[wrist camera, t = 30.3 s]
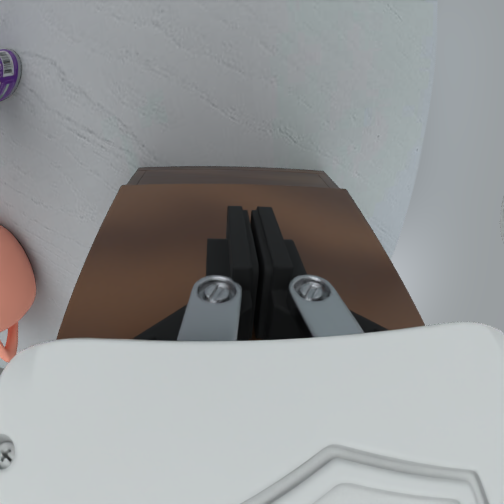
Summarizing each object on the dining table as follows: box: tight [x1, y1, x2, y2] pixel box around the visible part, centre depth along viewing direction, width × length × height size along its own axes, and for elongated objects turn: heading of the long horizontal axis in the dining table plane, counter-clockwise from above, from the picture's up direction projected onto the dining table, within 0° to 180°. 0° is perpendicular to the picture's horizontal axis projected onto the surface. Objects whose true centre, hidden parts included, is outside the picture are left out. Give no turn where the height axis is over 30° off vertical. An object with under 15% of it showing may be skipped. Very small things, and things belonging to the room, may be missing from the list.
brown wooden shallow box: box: [127, 166, 340, 189], centre depth 25 cm, size 13×15×4 cm
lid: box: [56, 184, 425, 341], centre depth 14 cm, size 13×15×1 cm
